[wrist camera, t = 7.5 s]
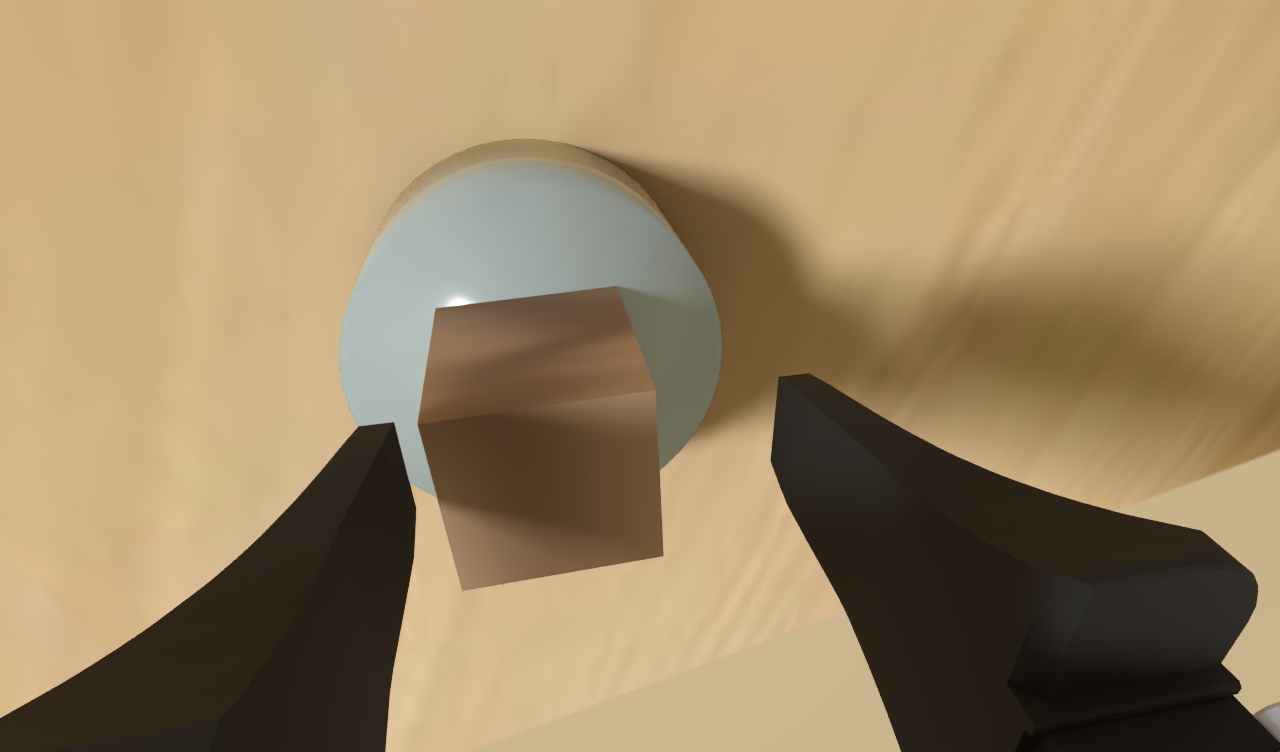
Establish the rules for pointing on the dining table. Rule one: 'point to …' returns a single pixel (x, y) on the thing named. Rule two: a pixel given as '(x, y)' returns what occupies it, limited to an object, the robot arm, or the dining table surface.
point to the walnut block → (541, 436)
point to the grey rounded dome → (525, 278)
